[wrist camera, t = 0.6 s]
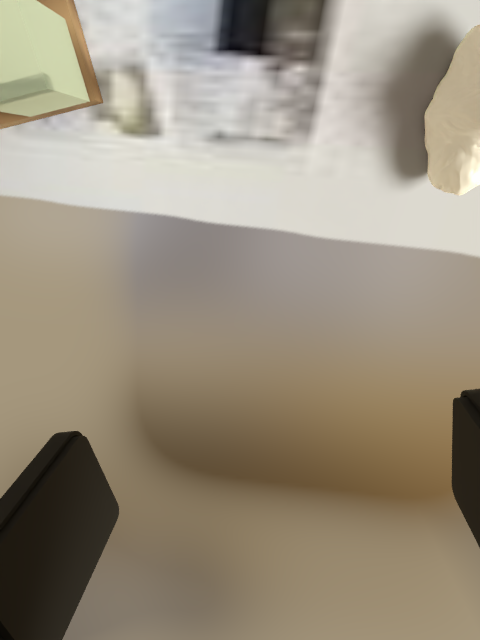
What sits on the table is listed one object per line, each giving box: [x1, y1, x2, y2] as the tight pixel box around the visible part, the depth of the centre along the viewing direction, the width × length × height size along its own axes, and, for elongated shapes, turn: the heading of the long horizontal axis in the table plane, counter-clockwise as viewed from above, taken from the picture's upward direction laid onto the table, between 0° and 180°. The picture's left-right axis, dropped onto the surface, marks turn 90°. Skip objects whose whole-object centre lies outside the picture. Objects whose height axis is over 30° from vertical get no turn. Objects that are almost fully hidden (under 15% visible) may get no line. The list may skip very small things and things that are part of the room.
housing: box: [0, 0, 90, 117], centre depth 29 cm, size 6×6×6 cm
